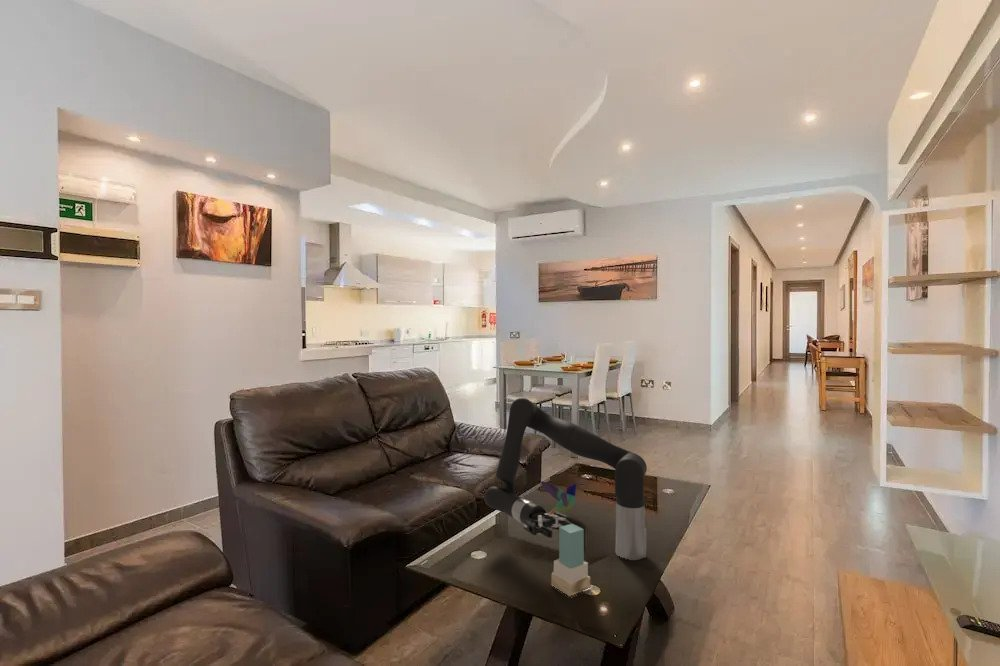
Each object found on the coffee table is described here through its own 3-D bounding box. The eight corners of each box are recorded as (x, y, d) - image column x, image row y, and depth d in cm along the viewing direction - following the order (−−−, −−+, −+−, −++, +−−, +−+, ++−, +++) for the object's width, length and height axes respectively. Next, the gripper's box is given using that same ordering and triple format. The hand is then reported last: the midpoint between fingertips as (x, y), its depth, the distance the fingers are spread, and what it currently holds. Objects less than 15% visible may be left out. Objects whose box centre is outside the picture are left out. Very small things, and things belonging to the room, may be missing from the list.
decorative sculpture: (595, 521, 193) (596, 483, 192) (553, 528, 186) (553, 488, 186) (573, 505, 209) (573, 470, 208) (533, 511, 202) (534, 475, 202)
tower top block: (569, 566, 150) (570, 553, 149) (587, 576, 144) (587, 562, 144) (553, 574, 145) (553, 560, 145) (571, 584, 140) (571, 570, 140)
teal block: (572, 556, 148) (572, 523, 147) (583, 563, 143) (583, 529, 143) (559, 561, 145) (559, 527, 145) (570, 568, 141) (570, 533, 141)
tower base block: (571, 578, 151) (571, 565, 150) (590, 590, 144) (590, 577, 144) (551, 586, 146) (551, 573, 146) (569, 599, 139) (569, 585, 139)
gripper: (510, 506, 156) (544, 524, 143) (545, 497, 165) (579, 513, 151) (510, 529, 157) (543, 549, 143) (544, 519, 165) (579, 537, 152)
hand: (562, 531), depth 147 cm, fingers open, 8 cm apart
